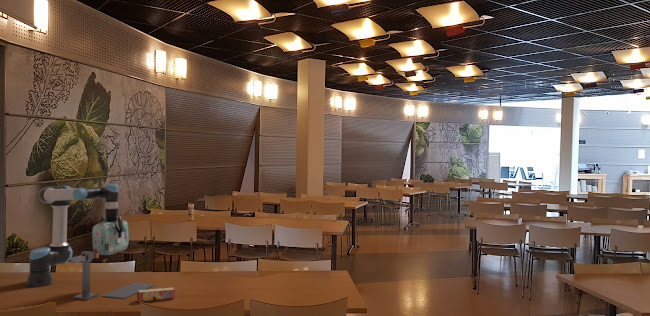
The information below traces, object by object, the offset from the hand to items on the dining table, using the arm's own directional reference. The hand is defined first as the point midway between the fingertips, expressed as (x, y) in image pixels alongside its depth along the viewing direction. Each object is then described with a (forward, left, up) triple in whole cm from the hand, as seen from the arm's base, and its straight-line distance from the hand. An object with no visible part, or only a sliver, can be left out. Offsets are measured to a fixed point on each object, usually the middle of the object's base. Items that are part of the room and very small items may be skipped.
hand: (111, 242), depth 309 cm
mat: (+14, 0, -30) cm, 33 cm away
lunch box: (0, 0, -7) cm, 7 cm away
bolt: (-2, -22, -7) cm, 23 cm away
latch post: (-2, -20, -30) cm, 36 cm away
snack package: (+41, -11, -31) cm, 52 cm away
